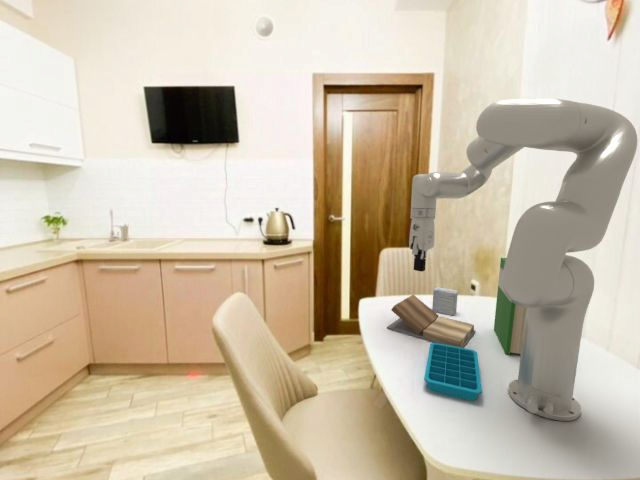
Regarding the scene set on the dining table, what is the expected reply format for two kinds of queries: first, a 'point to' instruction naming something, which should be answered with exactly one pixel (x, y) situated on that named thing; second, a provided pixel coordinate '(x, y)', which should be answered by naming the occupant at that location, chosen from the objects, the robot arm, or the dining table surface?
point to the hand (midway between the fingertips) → (419, 270)
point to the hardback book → (508, 319)
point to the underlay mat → (405, 329)
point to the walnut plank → (415, 313)
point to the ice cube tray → (453, 371)
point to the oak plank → (449, 331)
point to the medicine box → (445, 301)
